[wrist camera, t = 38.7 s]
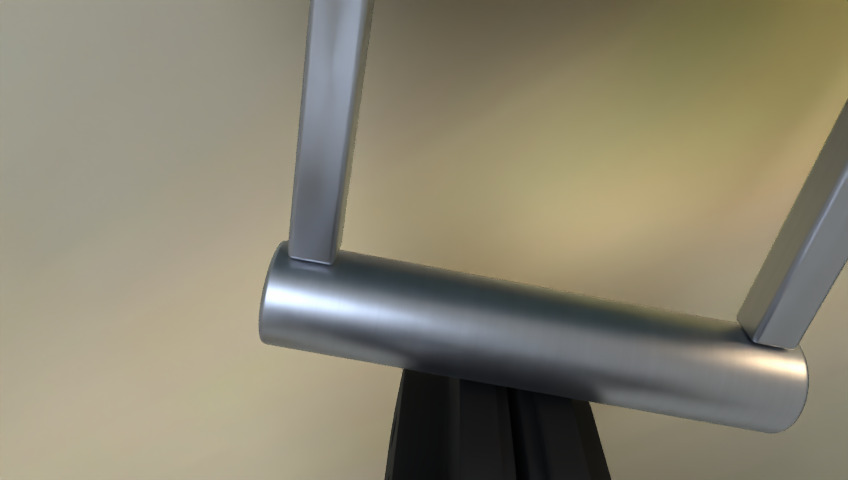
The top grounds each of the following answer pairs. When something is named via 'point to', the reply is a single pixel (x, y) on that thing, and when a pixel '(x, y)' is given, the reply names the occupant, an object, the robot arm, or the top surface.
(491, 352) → the drawer
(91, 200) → the top surface
